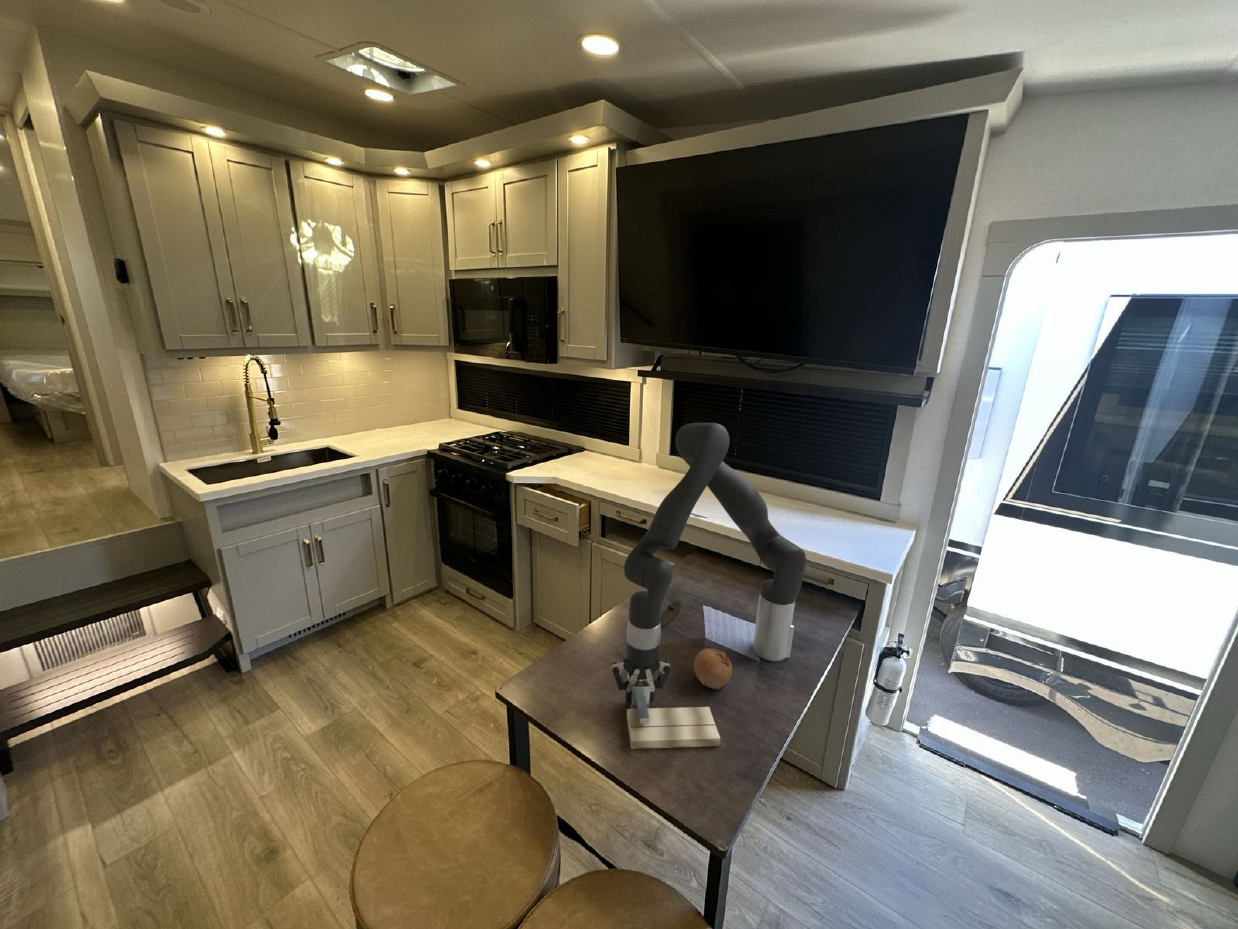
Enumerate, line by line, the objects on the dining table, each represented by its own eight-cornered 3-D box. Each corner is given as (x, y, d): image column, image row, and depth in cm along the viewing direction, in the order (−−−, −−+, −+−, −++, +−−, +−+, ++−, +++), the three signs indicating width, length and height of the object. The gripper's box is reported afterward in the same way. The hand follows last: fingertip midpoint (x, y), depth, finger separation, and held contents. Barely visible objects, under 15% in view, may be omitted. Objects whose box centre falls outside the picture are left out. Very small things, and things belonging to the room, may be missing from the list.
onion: (724, 692, 125) (746, 664, 122) (706, 702, 117) (729, 672, 115) (698, 662, 130) (719, 635, 127) (679, 670, 123) (701, 641, 120)
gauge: (646, 699, 116) (648, 671, 114) (652, 733, 107) (654, 703, 104) (629, 699, 116) (631, 671, 114) (634, 733, 106) (636, 703, 104)
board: (708, 714, 113) (709, 706, 113) (719, 746, 104) (720, 738, 104) (626, 716, 111) (627, 708, 111) (631, 749, 103) (631, 741, 102)
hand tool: (648, 641, 139) (650, 627, 138) (638, 634, 142) (639, 620, 141) (687, 616, 153) (689, 602, 151) (677, 610, 155) (678, 597, 154)
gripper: (671, 627, 114) (666, 690, 118) (610, 628, 112) (607, 691, 117) (678, 648, 106) (672, 713, 111) (612, 648, 105) (609, 715, 110)
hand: (638, 701), depth 114 cm, fingers closed on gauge, 4 cm apart
